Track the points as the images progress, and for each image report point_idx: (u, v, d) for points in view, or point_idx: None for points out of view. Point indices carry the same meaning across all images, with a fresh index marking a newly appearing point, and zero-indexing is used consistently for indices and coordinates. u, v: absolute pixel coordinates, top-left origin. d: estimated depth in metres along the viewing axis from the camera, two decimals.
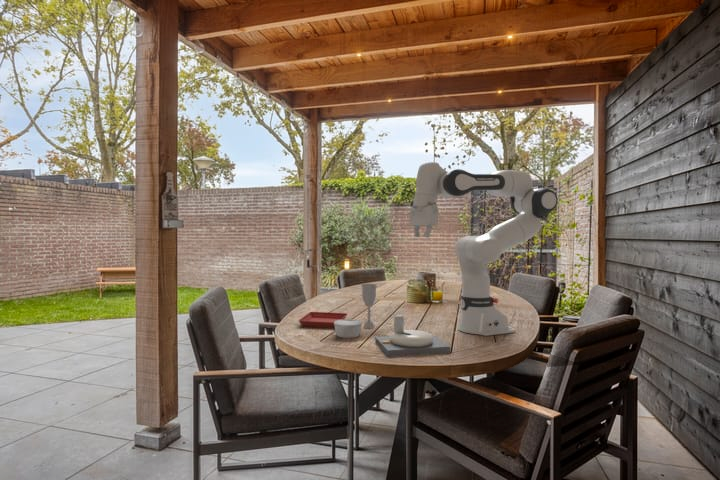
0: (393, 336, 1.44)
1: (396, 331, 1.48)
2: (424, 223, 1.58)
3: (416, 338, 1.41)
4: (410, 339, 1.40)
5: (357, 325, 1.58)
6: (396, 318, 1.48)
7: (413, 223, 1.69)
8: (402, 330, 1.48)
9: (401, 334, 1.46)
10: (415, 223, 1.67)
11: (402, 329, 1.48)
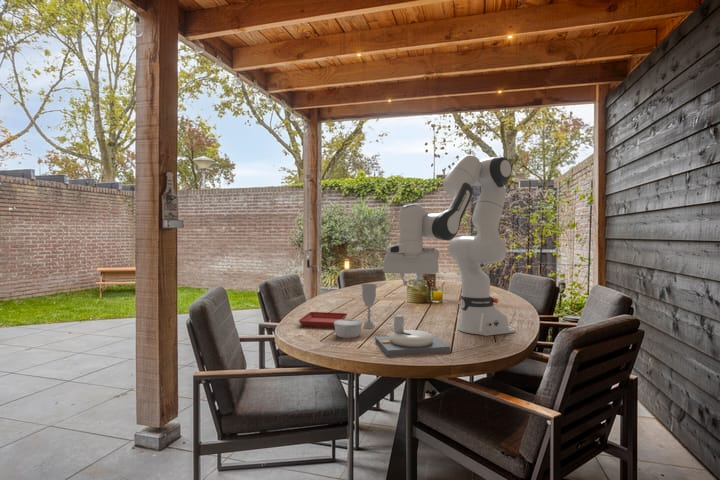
0: (393, 336, 1.44)
1: (396, 331, 1.48)
2: (425, 271, 1.48)
3: (416, 338, 1.41)
4: (410, 339, 1.40)
5: (357, 325, 1.58)
6: (396, 318, 1.48)
7: (395, 271, 1.49)
8: (402, 330, 1.48)
9: (401, 334, 1.46)
10: (401, 271, 1.49)
11: (402, 329, 1.48)
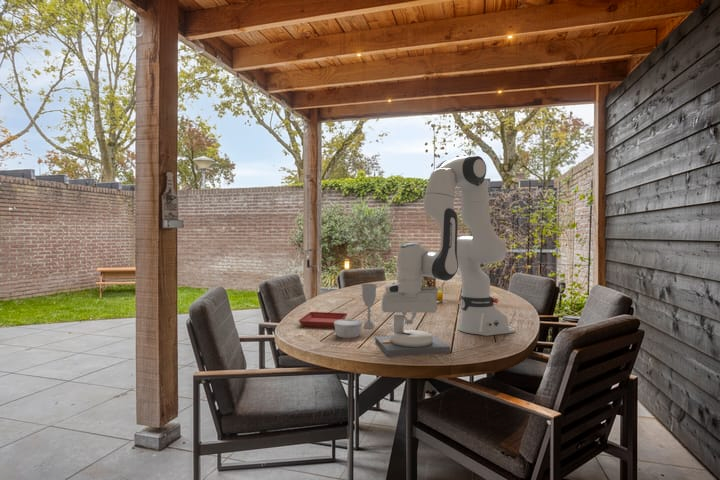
0: (393, 336, 1.44)
1: (396, 331, 1.48)
2: (424, 311, 1.49)
3: (416, 338, 1.41)
4: (410, 339, 1.40)
5: (357, 325, 1.58)
6: (396, 318, 1.48)
7: (394, 310, 1.49)
8: (402, 330, 1.48)
9: (401, 334, 1.46)
10: (400, 310, 1.49)
11: (402, 329, 1.48)
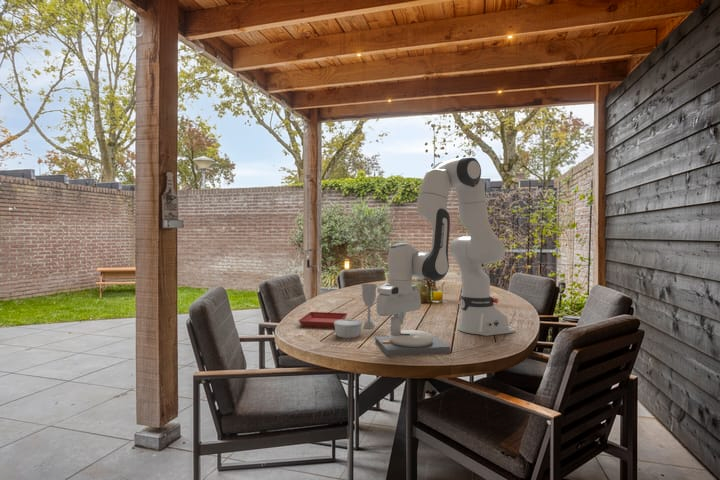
0: (400, 339, 1.40)
1: (396, 333, 1.45)
2: (413, 309, 1.52)
3: (422, 337, 1.43)
4: (420, 339, 1.40)
5: (357, 325, 1.58)
6: (395, 320, 1.44)
7: (392, 313, 1.44)
8: (400, 331, 1.46)
9: (402, 336, 1.44)
10: (396, 312, 1.46)
11: (400, 330, 1.46)
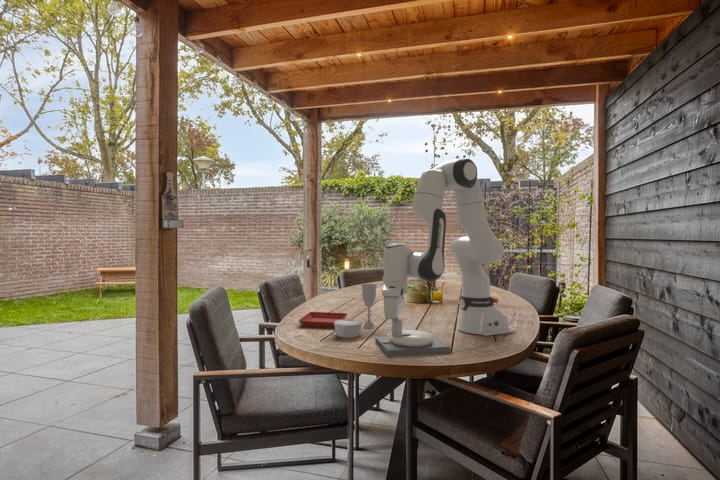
0: (409, 340, 1.39)
1: (399, 335, 1.42)
2: (402, 309, 1.52)
3: (424, 335, 1.44)
4: (425, 337, 1.42)
5: (357, 325, 1.58)
6: (399, 322, 1.42)
7: (397, 315, 1.41)
8: None
9: (405, 337, 1.43)
10: (398, 313, 1.43)
11: None
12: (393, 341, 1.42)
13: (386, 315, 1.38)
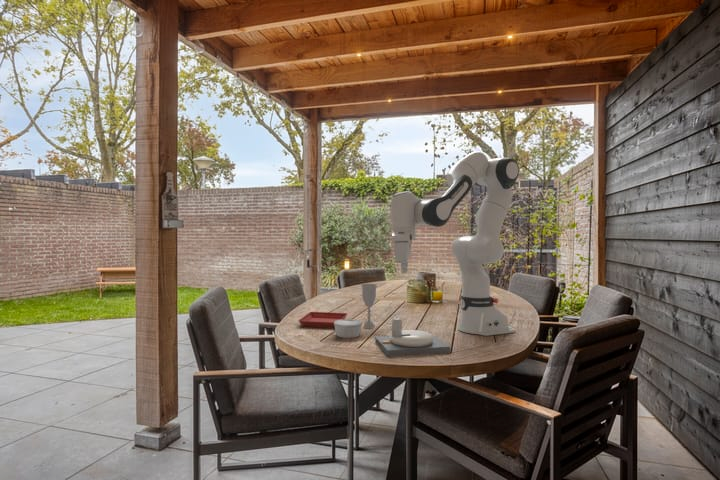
0: (408, 340, 1.39)
1: (399, 335, 1.42)
2: (410, 257, 1.57)
3: (424, 336, 1.44)
4: (425, 337, 1.42)
5: (357, 325, 1.58)
6: (399, 322, 1.42)
7: (407, 259, 1.46)
8: None
9: (405, 336, 1.43)
10: (408, 259, 1.49)
11: None
12: (393, 341, 1.42)
13: (397, 259, 1.43)
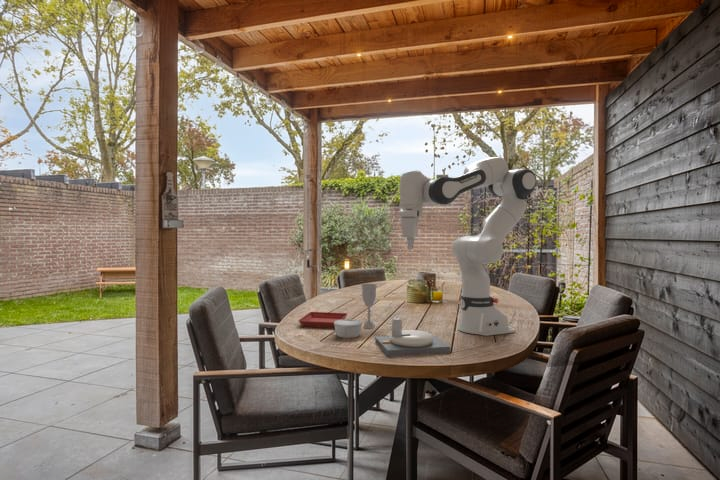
0: (408, 340, 1.39)
1: (399, 335, 1.42)
2: (416, 235, 1.63)
3: (424, 336, 1.44)
4: (425, 337, 1.42)
5: (357, 325, 1.58)
6: (399, 322, 1.42)
7: (413, 235, 1.52)
8: None
9: (405, 336, 1.43)
10: (414, 235, 1.54)
11: None
12: (393, 341, 1.42)
13: (404, 233, 1.48)
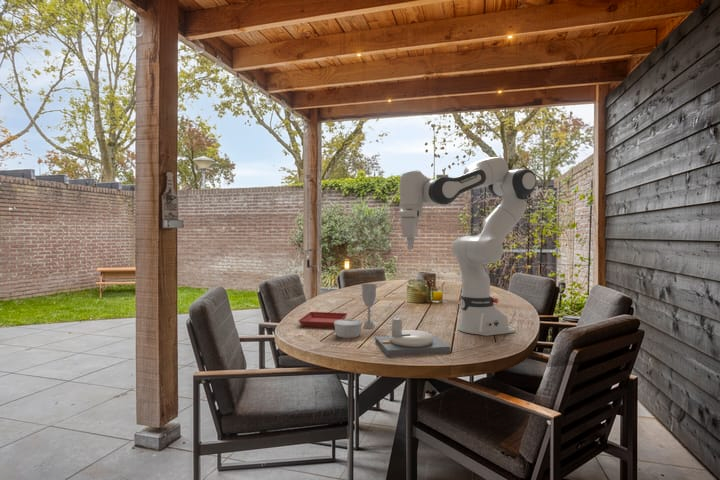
0: (408, 340, 1.39)
1: (399, 335, 1.42)
2: (416, 235, 1.63)
3: (424, 336, 1.44)
4: (425, 337, 1.42)
5: (357, 325, 1.58)
6: (399, 322, 1.42)
7: (413, 235, 1.52)
8: None
9: (405, 336, 1.43)
10: (414, 235, 1.54)
11: None
12: (393, 341, 1.42)
13: (404, 233, 1.48)
